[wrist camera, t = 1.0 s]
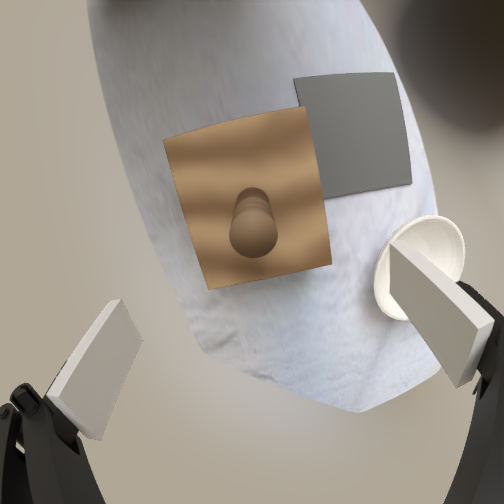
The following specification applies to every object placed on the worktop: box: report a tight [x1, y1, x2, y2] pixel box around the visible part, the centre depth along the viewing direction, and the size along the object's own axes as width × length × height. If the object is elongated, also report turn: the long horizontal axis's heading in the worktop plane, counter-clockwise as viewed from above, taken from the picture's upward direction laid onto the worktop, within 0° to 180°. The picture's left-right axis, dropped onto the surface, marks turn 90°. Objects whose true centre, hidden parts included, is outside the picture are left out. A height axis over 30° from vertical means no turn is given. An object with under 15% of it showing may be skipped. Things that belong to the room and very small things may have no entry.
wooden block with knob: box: [163, 106, 332, 290], centre depth 30 cm, size 18×15×23 cm
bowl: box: [373, 215, 465, 321], centre depth 43 cm, size 20×20×7 cm
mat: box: [293, 72, 412, 199], centre depth 37 cm, size 19×17×1 cm
